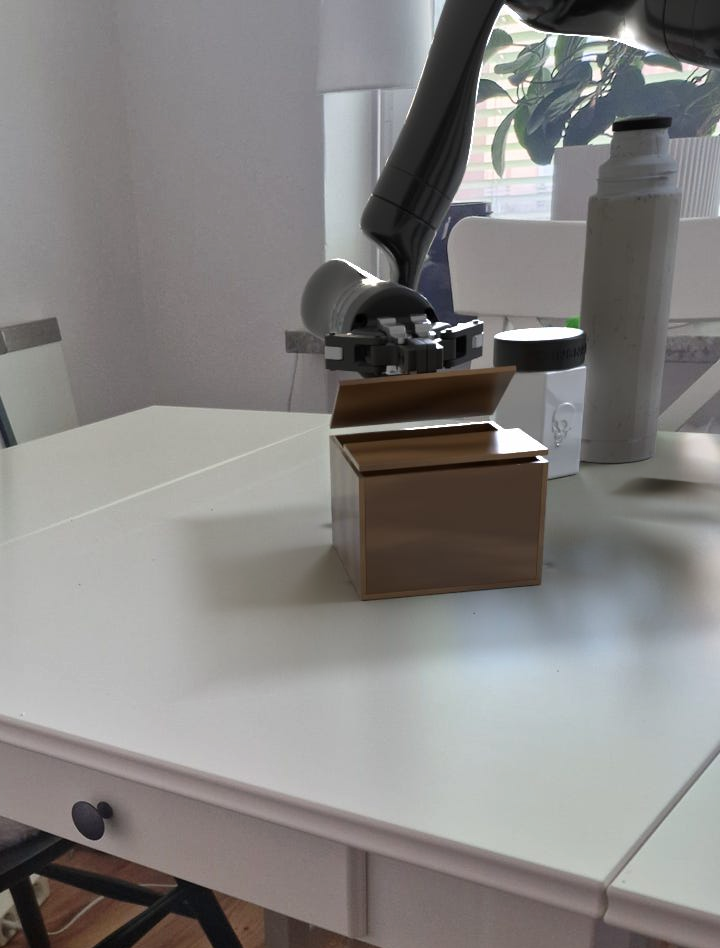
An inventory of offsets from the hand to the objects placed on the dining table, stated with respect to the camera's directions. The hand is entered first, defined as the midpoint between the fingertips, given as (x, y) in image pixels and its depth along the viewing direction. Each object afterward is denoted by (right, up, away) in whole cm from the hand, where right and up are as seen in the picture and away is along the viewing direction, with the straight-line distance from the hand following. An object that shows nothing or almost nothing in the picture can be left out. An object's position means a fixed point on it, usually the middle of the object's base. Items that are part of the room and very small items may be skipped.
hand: (427, 361), depth 82 cm
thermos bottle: (+23, +4, +32) cm, 39 cm away
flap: (0, -1, +4) cm, 4 cm away
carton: (+1, -13, +6) cm, 14 cm away
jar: (+15, +1, +28) cm, 32 cm away
